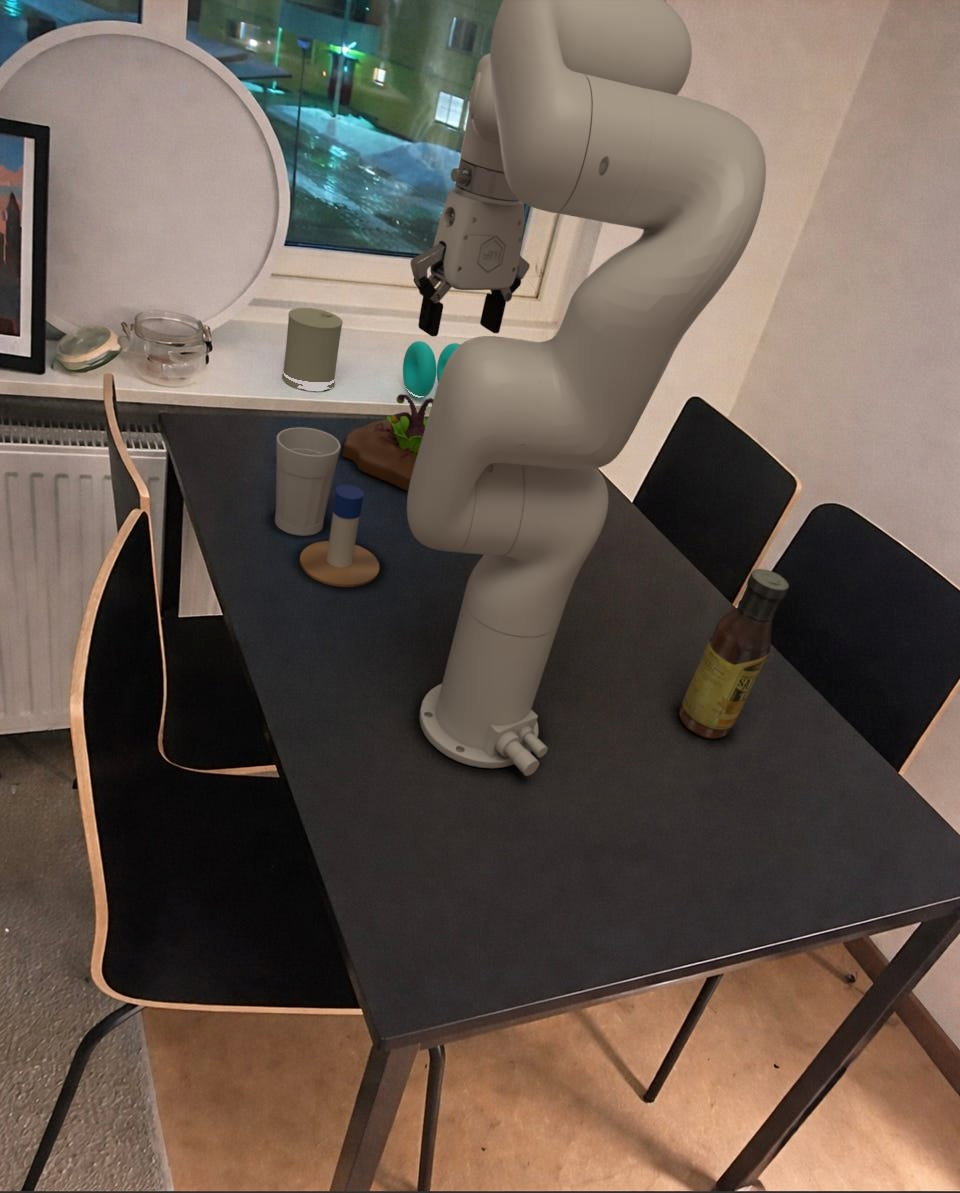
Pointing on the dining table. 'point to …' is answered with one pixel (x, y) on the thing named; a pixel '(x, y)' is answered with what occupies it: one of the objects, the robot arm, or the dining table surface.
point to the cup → (304, 478)
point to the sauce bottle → (733, 658)
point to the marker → (344, 525)
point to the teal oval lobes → (424, 367)
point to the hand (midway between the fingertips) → (459, 330)
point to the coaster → (352, 576)
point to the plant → (389, 445)
